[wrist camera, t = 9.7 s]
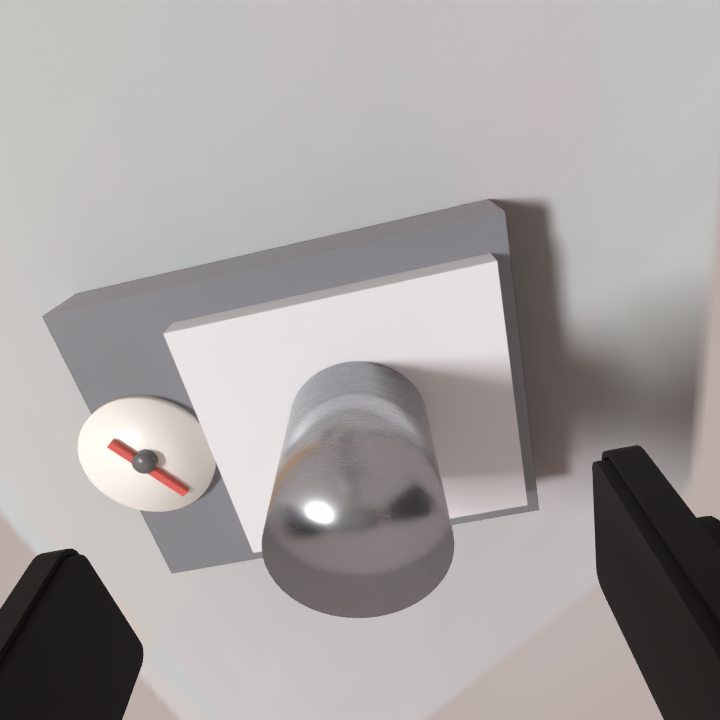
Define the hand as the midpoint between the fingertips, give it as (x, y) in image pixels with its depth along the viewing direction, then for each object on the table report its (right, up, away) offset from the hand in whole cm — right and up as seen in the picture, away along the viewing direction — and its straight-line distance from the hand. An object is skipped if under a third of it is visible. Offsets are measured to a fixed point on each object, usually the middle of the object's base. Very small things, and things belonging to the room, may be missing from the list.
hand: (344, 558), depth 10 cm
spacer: (0, +2, +6) cm, 6 cm away
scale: (-1, +3, +9) cm, 9 cm away
